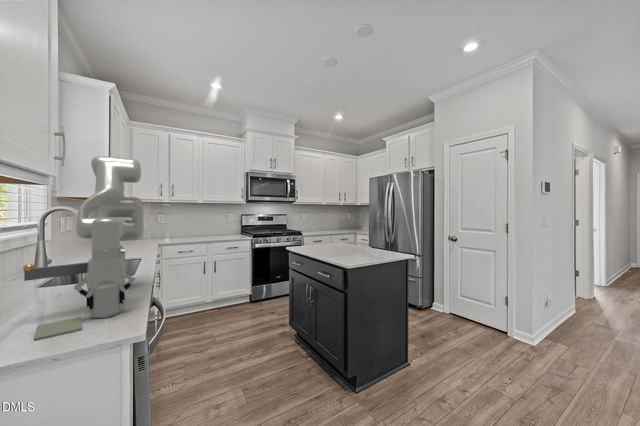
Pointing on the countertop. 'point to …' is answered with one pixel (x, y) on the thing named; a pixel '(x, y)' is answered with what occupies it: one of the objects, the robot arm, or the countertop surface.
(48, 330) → the mat
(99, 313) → the can
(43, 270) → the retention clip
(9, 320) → the countertop surface
